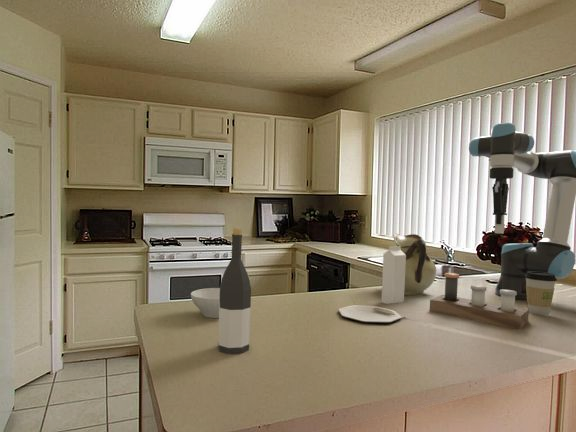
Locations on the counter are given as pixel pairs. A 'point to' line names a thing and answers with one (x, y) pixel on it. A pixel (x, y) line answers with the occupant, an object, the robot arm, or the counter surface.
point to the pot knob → (451, 286)
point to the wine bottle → (234, 303)
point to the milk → (393, 275)
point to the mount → (480, 312)
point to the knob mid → (478, 295)
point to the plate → (368, 314)
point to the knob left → (507, 300)
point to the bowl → (207, 301)
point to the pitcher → (416, 264)
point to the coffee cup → (539, 291)
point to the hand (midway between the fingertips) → (499, 233)
